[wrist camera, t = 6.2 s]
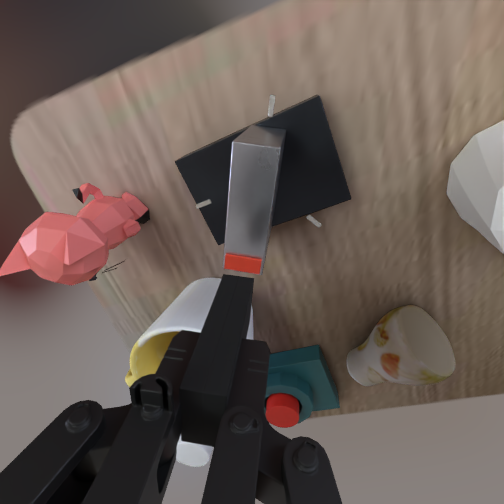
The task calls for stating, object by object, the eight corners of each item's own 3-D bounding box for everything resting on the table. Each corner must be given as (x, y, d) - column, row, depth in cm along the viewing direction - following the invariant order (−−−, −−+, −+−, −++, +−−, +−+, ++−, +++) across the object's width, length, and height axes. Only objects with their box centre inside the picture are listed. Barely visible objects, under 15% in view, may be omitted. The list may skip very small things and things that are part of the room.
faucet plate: (312, 75, 23) (313, 74, 21) (351, 204, 28) (356, 215, 25) (175, 140, 27) (163, 146, 25) (229, 246, 31) (223, 259, 29)
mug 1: (246, 248, 31) (223, 317, 22) (278, 326, 35) (271, 412, 26) (131, 279, 35) (71, 350, 26) (173, 347, 39) (133, 428, 30)
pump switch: (318, 344, 35) (320, 372, 32) (338, 391, 39) (341, 422, 35) (230, 361, 39) (223, 389, 35) (255, 404, 42) (251, 433, 38)
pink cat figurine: (106, 244, 33) (16, 319, 22) (75, 180, 30) (-46, 232, 20) (167, 233, 31) (101, 308, 21) (141, 164, 28) (48, 212, 18)
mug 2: (323, 348, 36) (349, 382, 26) (382, 286, 36) (430, 295, 26) (372, 394, 36) (417, 446, 26) (430, 331, 36) (498, 359, 26)
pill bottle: (193, 389, 42) (165, 466, 34) (191, 359, 39) (161, 436, 31) (233, 395, 41) (216, 475, 33) (233, 365, 39) (215, 444, 30)
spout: (251, 124, 23) (231, 141, 16) (286, 129, 23) (280, 148, 16) (241, 224, 27) (221, 270, 20) (271, 228, 27) (261, 277, 20)
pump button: (293, 389, 34) (292, 403, 33) (303, 411, 36) (303, 425, 34) (262, 394, 35) (260, 408, 34) (273, 415, 37) (272, 429, 35)
